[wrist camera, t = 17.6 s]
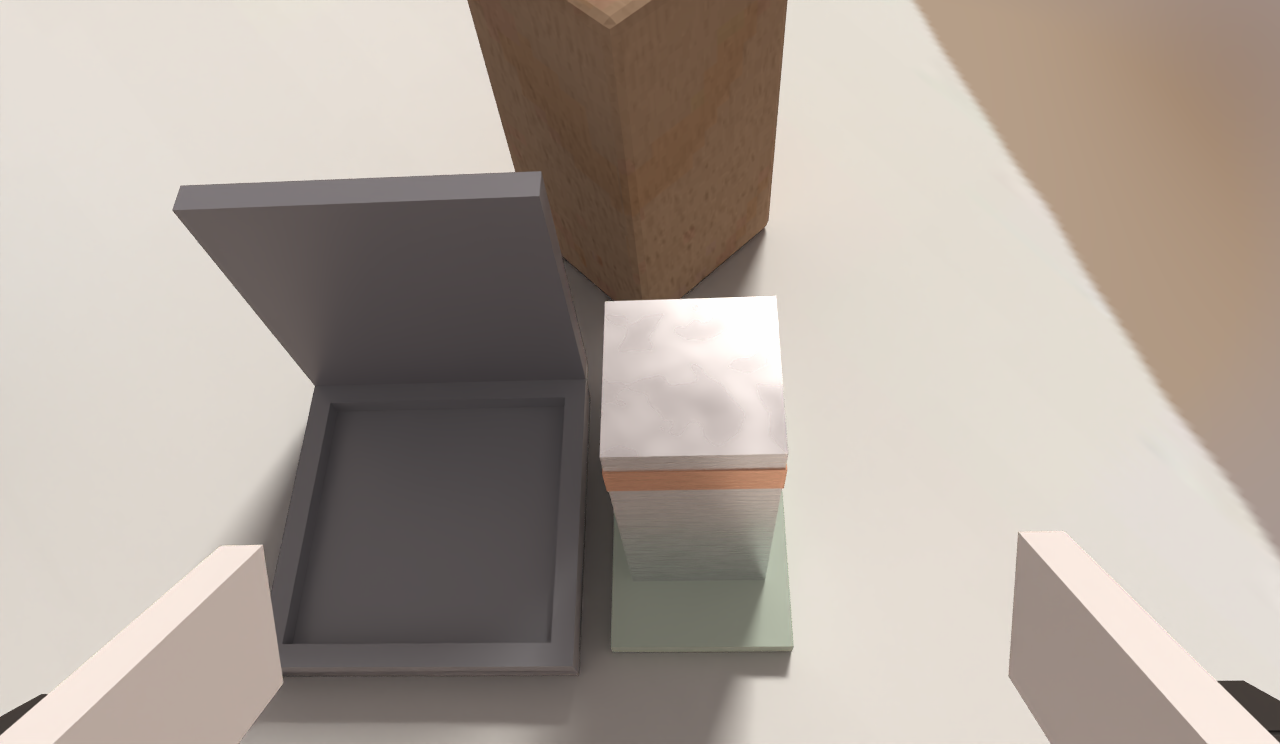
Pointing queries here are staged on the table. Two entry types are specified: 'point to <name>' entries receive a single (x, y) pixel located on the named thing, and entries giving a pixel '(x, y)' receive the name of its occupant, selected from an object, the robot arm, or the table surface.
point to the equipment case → (420, 418)
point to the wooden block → (641, 128)
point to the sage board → (703, 608)
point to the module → (694, 435)
